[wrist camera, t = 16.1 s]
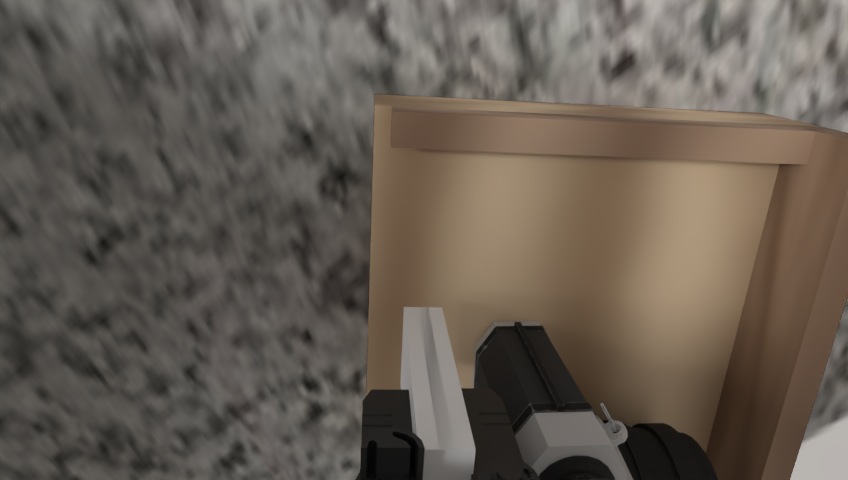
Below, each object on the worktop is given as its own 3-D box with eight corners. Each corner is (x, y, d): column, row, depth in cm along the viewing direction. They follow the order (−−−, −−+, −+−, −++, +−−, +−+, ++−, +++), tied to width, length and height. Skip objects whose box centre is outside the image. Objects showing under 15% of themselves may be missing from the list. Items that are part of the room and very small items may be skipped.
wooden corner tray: (364, 455, 26) (361, 577, 20) (374, 94, 21) (374, 120, 15) (680, 454, 27) (761, 568, 21) (762, 113, 22) (895, 144, 16)
